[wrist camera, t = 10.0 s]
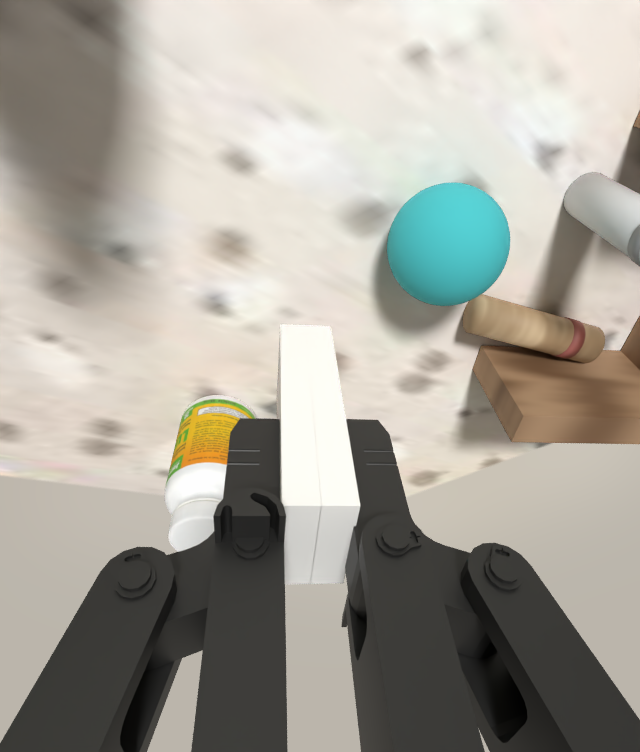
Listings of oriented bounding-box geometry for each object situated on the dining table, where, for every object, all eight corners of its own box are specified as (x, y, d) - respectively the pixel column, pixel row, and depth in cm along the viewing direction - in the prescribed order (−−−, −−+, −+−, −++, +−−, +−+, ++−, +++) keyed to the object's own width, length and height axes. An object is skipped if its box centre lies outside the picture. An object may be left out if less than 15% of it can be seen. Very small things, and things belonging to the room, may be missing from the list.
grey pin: (555, 216, 27) (647, 286, 21) (574, 169, 26) (679, 228, 19) (597, 219, 28) (701, 289, 21) (617, 173, 26) (736, 232, 19)
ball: (509, 323, 25) (451, 269, 30) (556, 210, 22) (483, 167, 26) (406, 333, 24) (361, 274, 28) (439, 210, 20) (381, 164, 24)
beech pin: (490, 292, 28) (610, 326, 30) (468, 293, 30) (581, 324, 32) (478, 335, 28) (598, 366, 30) (458, 332, 31) (570, 361, 33)
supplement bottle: (182, 388, 33) (152, 506, 25) (262, 395, 34) (257, 511, 26) (181, 445, 36) (155, 565, 28) (254, 450, 37) (248, 568, 29)
